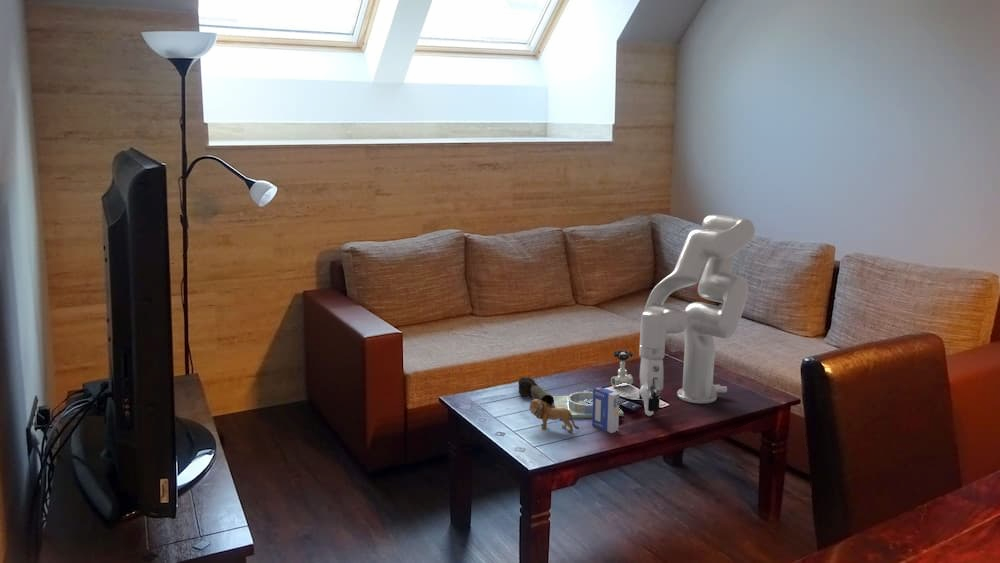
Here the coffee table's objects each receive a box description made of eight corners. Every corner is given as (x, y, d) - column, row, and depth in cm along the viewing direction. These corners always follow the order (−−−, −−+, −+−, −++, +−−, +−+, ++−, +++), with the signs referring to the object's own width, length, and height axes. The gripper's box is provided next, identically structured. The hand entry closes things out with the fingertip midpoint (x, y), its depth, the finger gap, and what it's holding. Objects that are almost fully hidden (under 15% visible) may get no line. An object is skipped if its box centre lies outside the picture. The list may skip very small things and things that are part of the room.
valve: (608, 384, 273) (609, 351, 270) (624, 382, 275) (626, 348, 273) (618, 391, 267) (619, 356, 264) (635, 388, 270) (636, 354, 267)
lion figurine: (528, 431, 235) (528, 402, 233) (530, 423, 240) (530, 395, 238) (578, 433, 233) (579, 404, 231) (579, 426, 238) (580, 398, 236)
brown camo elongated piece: (554, 406, 254) (554, 389, 253) (535, 409, 251) (535, 393, 250) (530, 387, 270) (530, 372, 268) (512, 390, 267) (512, 374, 266)
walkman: (591, 425, 239) (593, 387, 236) (598, 423, 241) (599, 385, 238) (612, 433, 233) (613, 394, 230) (618, 431, 235) (620, 392, 232)
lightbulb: (638, 411, 250) (640, 378, 247) (658, 412, 249) (660, 379, 246) (639, 419, 244) (640, 384, 241) (659, 420, 243) (661, 386, 240)
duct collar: (611, 397, 261) (611, 388, 260) (623, 416, 245) (623, 406, 245) (550, 399, 259) (550, 390, 258) (559, 419, 243) (559, 409, 243)
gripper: (672, 360, 233) (669, 415, 237) (655, 342, 250) (652, 394, 254) (647, 360, 233) (644, 415, 236) (632, 343, 249) (629, 395, 253)
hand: (648, 404), depth 245 cm, fingers open, 9 cm apart
